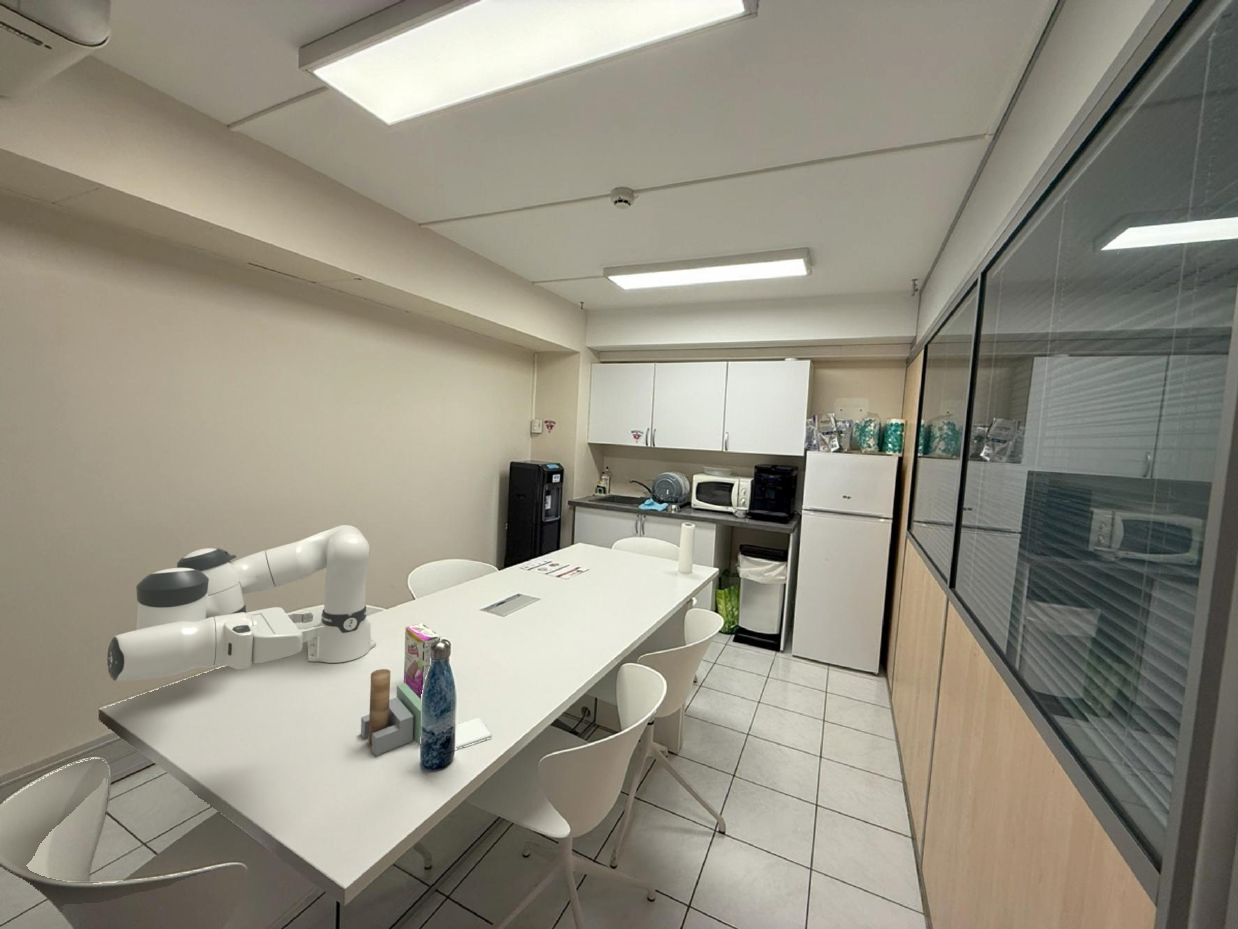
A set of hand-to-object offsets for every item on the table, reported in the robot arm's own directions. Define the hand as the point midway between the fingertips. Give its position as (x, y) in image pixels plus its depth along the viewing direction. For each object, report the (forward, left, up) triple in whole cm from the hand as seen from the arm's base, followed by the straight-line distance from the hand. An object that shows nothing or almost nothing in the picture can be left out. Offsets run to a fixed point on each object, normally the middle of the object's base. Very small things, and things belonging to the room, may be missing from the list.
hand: (318, 622), depth 101 cm
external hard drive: (+10, +27, -31) cm, 43 cm away
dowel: (0, +13, -31) cm, 33 cm away
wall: (0, +20, -31) cm, 37 cm away
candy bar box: (-16, +29, -31) cm, 45 cm away
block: (0, +15, -31) cm, 34 cm away
